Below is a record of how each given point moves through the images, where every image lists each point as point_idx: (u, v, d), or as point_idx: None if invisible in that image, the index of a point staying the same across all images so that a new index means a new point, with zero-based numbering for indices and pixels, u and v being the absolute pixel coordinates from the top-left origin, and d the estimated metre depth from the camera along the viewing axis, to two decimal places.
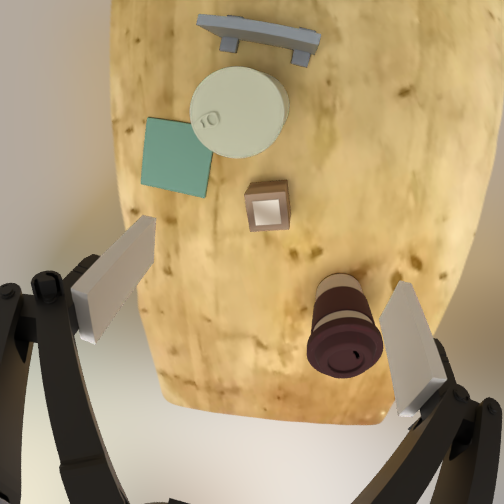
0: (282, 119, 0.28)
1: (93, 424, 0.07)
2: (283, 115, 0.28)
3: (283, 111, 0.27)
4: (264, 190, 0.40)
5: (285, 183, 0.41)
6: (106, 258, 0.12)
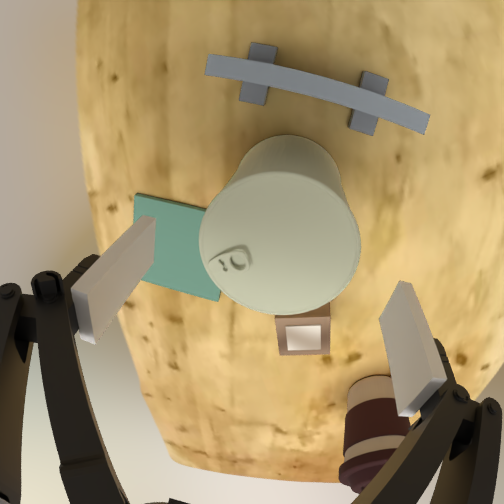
0: (355, 266, 0.17)
1: (93, 424, 0.07)
2: (357, 260, 0.17)
3: (358, 254, 0.17)
4: None
5: None
6: (106, 258, 0.12)
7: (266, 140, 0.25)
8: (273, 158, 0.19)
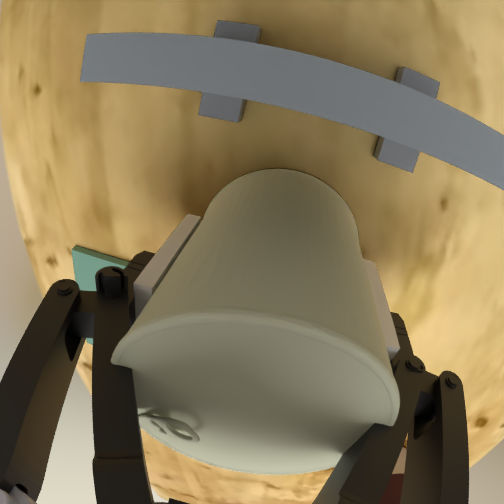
0: None
1: (137, 423, 0.07)
2: None
3: None
4: None
5: None
6: (162, 254, 0.13)
7: (244, 178, 0.16)
8: (241, 242, 0.10)
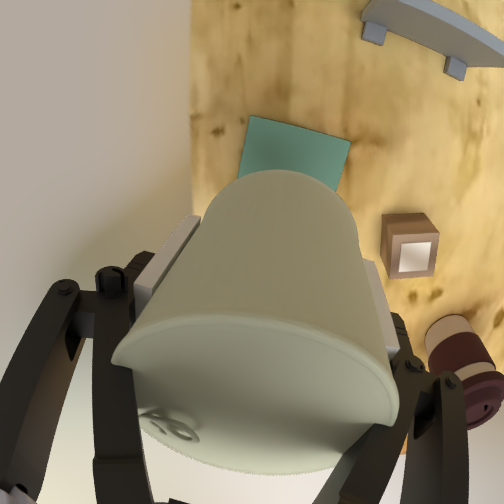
0: None
1: (137, 423, 0.07)
2: None
3: None
4: (411, 228, 0.29)
5: (427, 218, 0.30)
6: (162, 254, 0.13)
7: (243, 179, 0.16)
8: (241, 243, 0.10)
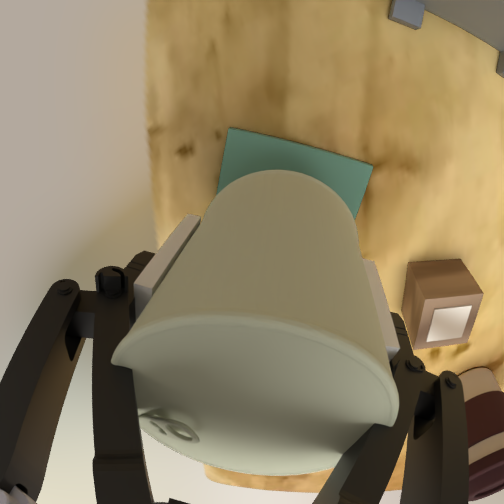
0: None
1: (137, 423, 0.07)
2: None
3: None
4: (448, 286, 0.20)
5: (466, 269, 0.22)
6: (163, 254, 0.13)
7: (243, 179, 0.16)
8: (241, 244, 0.10)
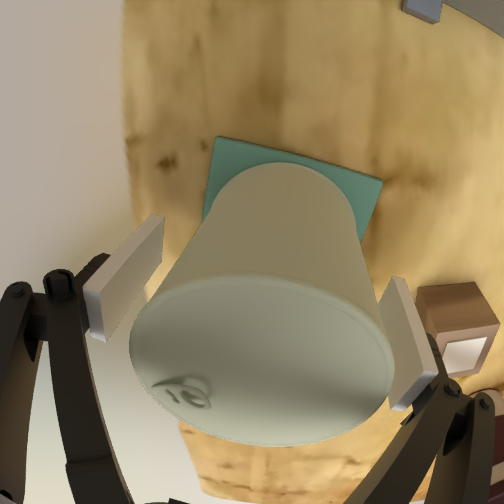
0: (379, 404, 0.10)
1: (101, 423, 0.07)
2: (384, 398, 0.10)
3: (387, 392, 0.09)
4: (462, 316, 0.17)
5: (481, 294, 0.19)
6: (117, 257, 0.12)
7: (249, 171, 0.18)
8: (251, 223, 0.11)
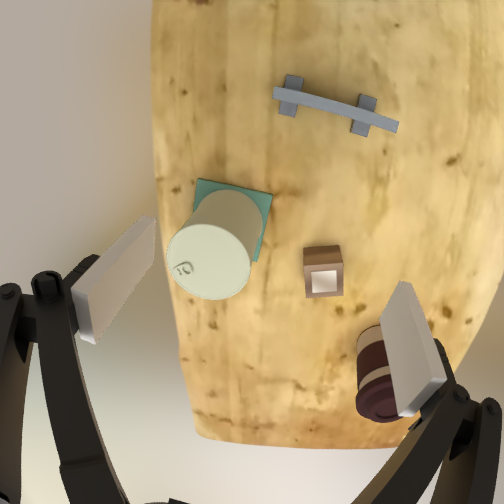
0: (248, 271, 0.33)
1: (93, 424, 0.07)
2: (249, 268, 0.33)
3: (249, 265, 0.33)
4: (321, 259, 0.41)
5: (339, 250, 0.42)
6: (106, 258, 0.12)
7: (212, 193, 0.41)
8: (205, 212, 0.34)
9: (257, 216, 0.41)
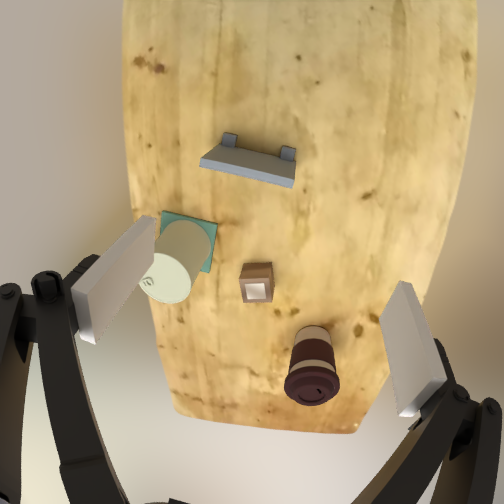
0: (190, 285, 0.47)
1: (93, 424, 0.07)
2: (190, 283, 0.46)
3: (190, 281, 0.46)
4: (253, 274, 0.54)
5: (270, 267, 0.55)
6: (106, 258, 0.12)
7: (172, 223, 0.54)
8: (162, 242, 0.48)
9: (204, 241, 0.54)
